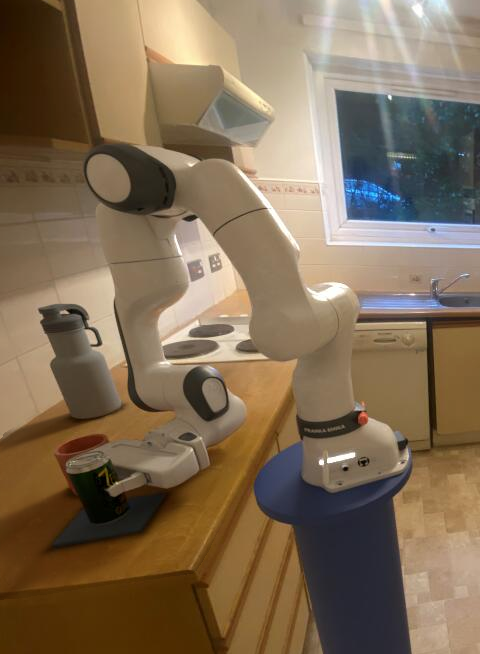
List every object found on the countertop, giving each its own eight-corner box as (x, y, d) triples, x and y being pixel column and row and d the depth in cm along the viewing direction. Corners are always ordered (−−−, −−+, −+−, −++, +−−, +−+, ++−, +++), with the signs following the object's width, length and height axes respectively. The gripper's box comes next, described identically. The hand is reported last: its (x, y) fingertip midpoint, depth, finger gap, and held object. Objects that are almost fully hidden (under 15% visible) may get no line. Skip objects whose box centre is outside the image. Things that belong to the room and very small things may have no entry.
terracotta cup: (129, 469, 89) (114, 431, 86) (111, 491, 83) (94, 451, 79) (85, 475, 87) (68, 437, 84) (63, 498, 81) (43, 458, 77)
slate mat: (165, 495, 82) (164, 492, 82) (141, 532, 73) (140, 529, 73) (87, 507, 79) (86, 504, 78) (52, 548, 70) (51, 545, 70)
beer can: (85, 531, 72) (57, 471, 68) (97, 510, 77) (71, 453, 72) (125, 521, 74) (100, 463, 70) (135, 502, 79) (112, 446, 74)
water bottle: (96, 401, 117) (55, 300, 106) (133, 401, 117) (96, 300, 106) (60, 420, 108) (12, 311, 97) (100, 420, 108) (56, 311, 97)
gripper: (123, 425, 86) (39, 464, 73) (208, 439, 82) (133, 483, 69) (134, 452, 88) (53, 494, 76) (216, 467, 84) (145, 514, 71)
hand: (92, 489), depth 72 cm, fingers closed on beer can, 5 cm apart
